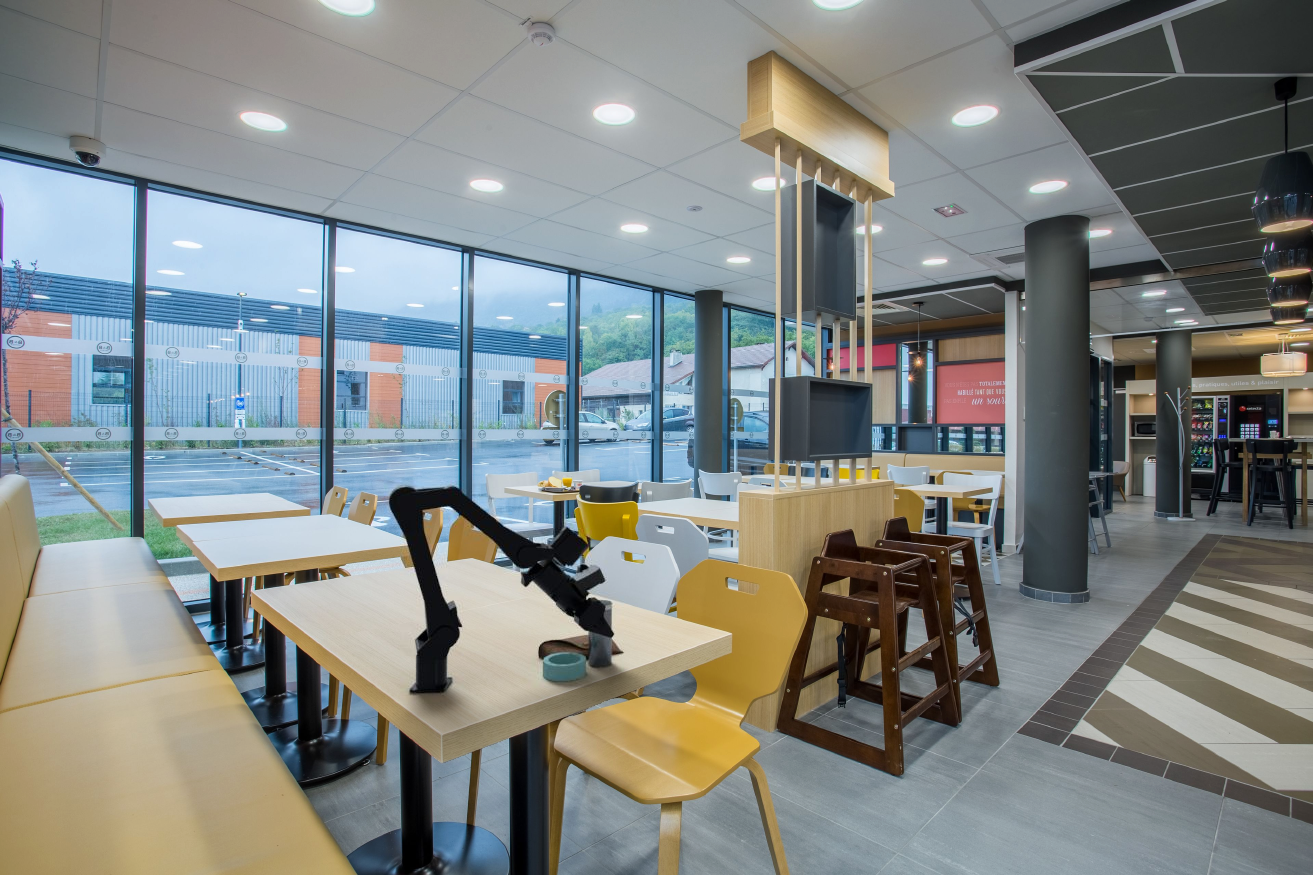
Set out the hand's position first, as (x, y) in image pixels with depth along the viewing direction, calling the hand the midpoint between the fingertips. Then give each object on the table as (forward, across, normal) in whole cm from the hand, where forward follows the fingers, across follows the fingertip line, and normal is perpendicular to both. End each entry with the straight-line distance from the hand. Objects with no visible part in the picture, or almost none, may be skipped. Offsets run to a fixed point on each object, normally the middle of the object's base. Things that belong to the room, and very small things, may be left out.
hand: (605, 630), depth 137 cm
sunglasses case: (+3, +7, +8) cm, 11 cm away
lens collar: (-2, -3, +12) cm, 12 cm away
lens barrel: (+4, 0, +6) cm, 7 cm away
